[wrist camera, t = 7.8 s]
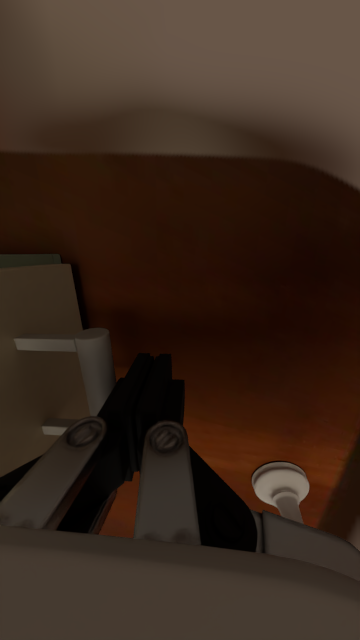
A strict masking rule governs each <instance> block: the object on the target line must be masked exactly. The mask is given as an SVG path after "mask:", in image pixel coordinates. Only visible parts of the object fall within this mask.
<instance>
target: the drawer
mask: <svg viewBox="0 0 360 640" xmlns="http://www.w3.org/2000/svg"><path fill="white" fill-rule="evenodd" d="M115 385H116V376H115V369H114V362H113V355H112V348H111V341H110V334H109V331H108V330H107V329H105V328H91V329H86V330H83V329H82V323H81V318H80V313H79V307H78V302H77V297H76V291H75V286H74V281H73V275H72V270H71V265H70V264H46V265H34V266H21V267H8V268H0V477H2V476H4V475H5V474H7V473H9V472H11V471H13V470H15V469H17V468H18V467H20V466H22V465H24V464H26V463H28V462H30V461H31V460H33V459H35V458H37V457H39V456H41V455H43V454H44V453H45V452H46V451H47V450H48V449H49V448H50V447H51V446H52V445H53V444H54V442H55V441H56V440H57V439H58V438H59V437H60V436H61V435H62V434H63V433H64V432H65V430H66V429H67V428H68V427H69V426H71V425H72V424H73V423H74V422H76V421H78V420H80V419H82V418H85V417H89V416H97V414H98V413H99V411H100V409H101V408H102V406H103V405H104V403H105V401H106V400H107V398H108V396H109V395H110V393H111V391H112V390H113V388H114V386H115Z"/></svg>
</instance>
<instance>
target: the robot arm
mask: <svg viewBox="0 0 360 640" xmlns="http://www.w3.org/2000/svg"><path fill="white" fill-rule="evenodd" d="M184 401H185V383H184V380H173V379H172V361H171V354H160V356H156V358H155V360H154V357H153V356H150V353H139V354H138V355H137V357H136V359H135V360H134V362H133V364H132V366H131V367H130V369H129V371H128V373H127V375H126V376H125V378H120V379H119V380H118V382H117V383H116V385H115V386H114V388H113V390H112V391H111V393H110V395H109V396H108V398H107V400H106V401H105V403H104V405H103V406H102V408H101V409H100V411H99V413H98V414H97V416H89V417H85V418H82V419H80V420H78V421H76V422H74V423H73V424H72V425H71V426H69V427H68V428H67V429H66V430H65V432H64V433H63V434H62V435H61V436H60V437H59V438H58V439H57V440H56V441H55V442H54V444H53V445H52V446H51V447H50V448H49V449H48V450H47V451H46V452H45V453H44V454H43V455H41V456H39V457H37V458H35V459H33V460H31V461H30V462H28V463H26V464H24V465H22V466H20V467H18V468H17V469H15V470H13V471H11V472H9V473H7V474H5V475H4V476H2V477H0V640H360V551H359V550H358V549H356V548H355V547H354V546H353V545H352V544H351V543H350V542H348V541H346V540H344V539H342V538H340V537H338V536H336V535H332V534H330V533H327V532H324V531H321V530H319V529H316V528H313V527H310V526H307V525H304V524H302V523H299V522H296V521H293V520H290V519H287V518H285V517H282V516H279V515H276V514H273V513H270V512H268V511H265V510H263V511H262V513H259V512H256V511H253V510H251V509H249V508H248V506H247V505H246V504H245V502H244V501H243V500H242V499H241V498H240V497H239V496H238V495H237V494H236V493H235V492H234V491H233V490H232V489H231V488H230V487H229V486H228V485H227V484H226V483H225V482H224V481H223V480H222V479H221V478H220V477H219V476H218V475H217V474H216V473H215V472H214V471H213V470H212V469H211V468H210V467H209V466H208V465H207V463H206V462H205V461H204V460H203V459H202V458H201V457H200V456H199V455H198V454H197V453H196V452H195V451H194V450H193V449H192V448H191V447H190V446H189V444H188V436H187V432H186V429H185V428H184V427H183V418H184ZM134 471H135V472H138V471H139V472H140V483H139V492H138V501H137V510H136V519H135V528H134V537H133V538H125V537H115V536H105V535H99V533H100V530H101V528H102V526H103V524H104V522H105V519H106V517H107V515H108V513H109V511H110V508H111V506H112V504H113V502H114V500H115V497H116V494H117V488H118V487H120V486H121V485H122V484H123V483H124V481H132V478H133V474H134Z"/></svg>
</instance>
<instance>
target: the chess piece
mask: <svg viewBox="0 0 360 640" xmlns="http://www.w3.org/2000/svg"><path fill="white" fill-rule="evenodd" d="M252 485H253V487H254V490H255V493H256V495H257V496H258V497H259V498H260V499H261V500H262V501H264V502H266V503H268V504H271V505H274V506H275V507H277V508H278V509H279V511H280V514H281V516H282V517H285V518H287V519H290V520H293V521H296V522H299V523H302V524H303V521H302V517H301V514H300V510H299V506H298V505H299V503H300V501H301V500H303V499H304V498H305V497H306V495H307V494H308V491H309V483H308V480H307V477H306V474H305V473H304V471H303V470H302V469H301V468H299V467H298V466H296V465H294V464H291V463H287V462H273V463H269V464H266V465H263V466H262V467H260V468H259V469H257V470H256V471H255V473H254V474H253V476H252Z"/></svg>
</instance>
